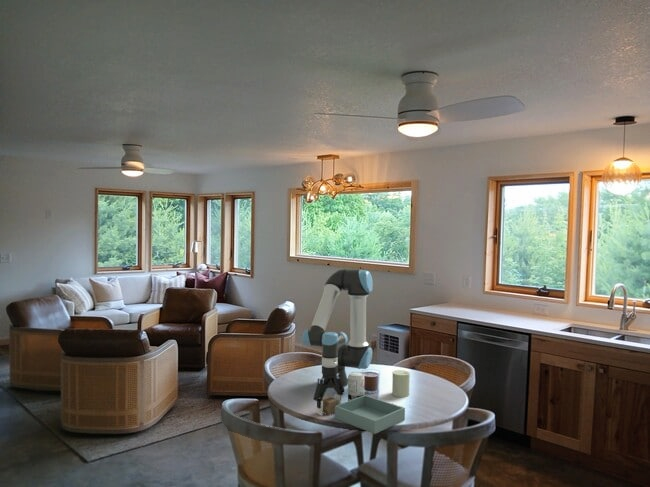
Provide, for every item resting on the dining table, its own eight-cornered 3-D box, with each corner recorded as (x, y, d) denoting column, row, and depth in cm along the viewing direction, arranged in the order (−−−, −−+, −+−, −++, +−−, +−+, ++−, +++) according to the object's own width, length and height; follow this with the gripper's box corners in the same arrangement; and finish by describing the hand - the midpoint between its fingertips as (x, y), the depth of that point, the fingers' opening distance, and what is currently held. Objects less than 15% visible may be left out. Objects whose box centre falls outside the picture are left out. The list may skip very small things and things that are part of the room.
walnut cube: (320, 411, 227) (320, 399, 227) (329, 408, 231) (329, 396, 231) (329, 415, 223) (329, 402, 223) (338, 412, 227) (338, 399, 227)
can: (409, 397, 247) (409, 374, 247) (391, 396, 249) (391, 373, 249) (409, 392, 256) (410, 369, 256) (392, 390, 258) (392, 368, 258)
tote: (334, 418, 219) (334, 406, 219) (364, 406, 235) (365, 394, 234) (374, 434, 203) (375, 421, 203) (404, 420, 218) (404, 407, 218)
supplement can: (346, 401, 241) (347, 371, 241) (362, 400, 242) (363, 371, 242) (348, 407, 233) (349, 376, 233) (365, 406, 234) (365, 376, 234)
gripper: (317, 372, 215) (316, 420, 216) (352, 362, 232) (351, 407, 233) (306, 368, 221) (305, 415, 221) (340, 359, 237) (340, 403, 238)
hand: (329, 411), depth 227 cm, fingers open, 11 cm apart
